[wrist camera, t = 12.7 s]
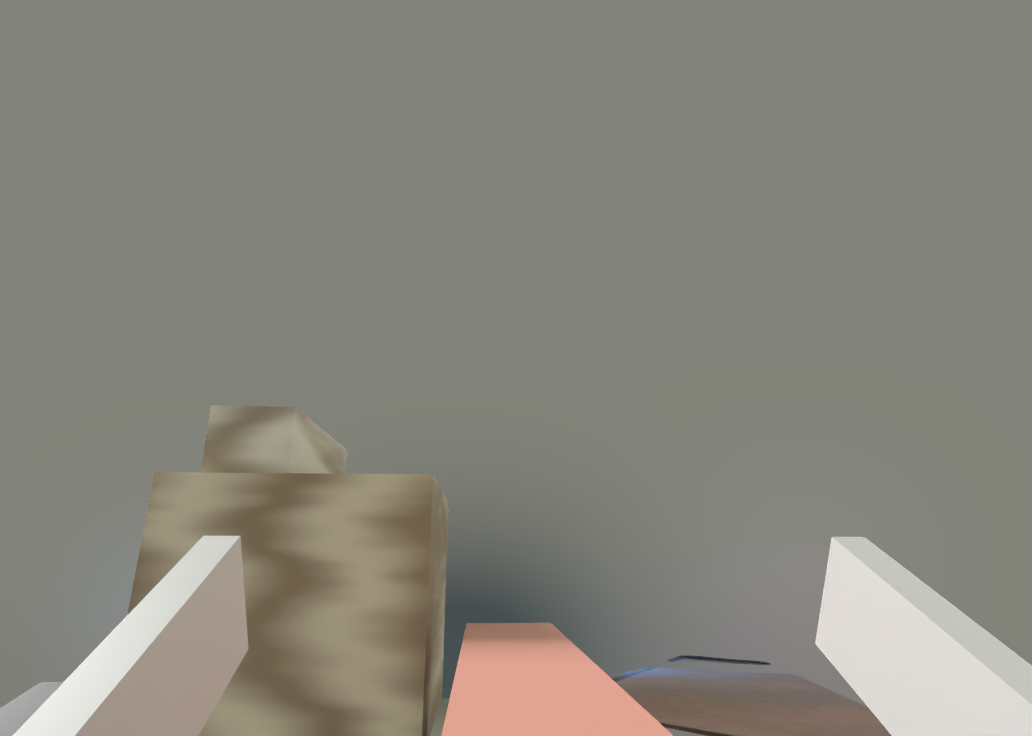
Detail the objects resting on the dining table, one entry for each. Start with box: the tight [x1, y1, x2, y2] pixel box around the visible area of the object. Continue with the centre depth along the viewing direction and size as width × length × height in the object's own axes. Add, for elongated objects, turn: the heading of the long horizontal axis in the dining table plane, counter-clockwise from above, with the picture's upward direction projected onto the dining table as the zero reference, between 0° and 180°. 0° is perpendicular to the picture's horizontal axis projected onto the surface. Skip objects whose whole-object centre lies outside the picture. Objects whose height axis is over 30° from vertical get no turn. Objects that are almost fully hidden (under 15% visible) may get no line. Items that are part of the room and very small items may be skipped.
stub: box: [441, 623, 673, 736], centre depth 17 cm, size 4×23×3 cm, turn 3°
